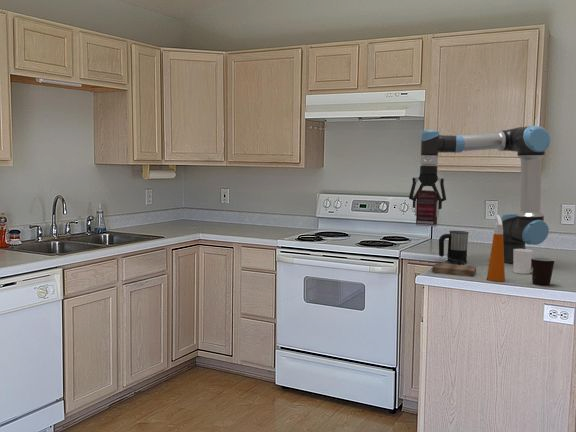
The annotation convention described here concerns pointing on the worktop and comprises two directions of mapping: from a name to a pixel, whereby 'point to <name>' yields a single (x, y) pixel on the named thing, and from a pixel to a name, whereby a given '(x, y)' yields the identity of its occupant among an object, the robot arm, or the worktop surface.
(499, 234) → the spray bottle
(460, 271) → the walnut board
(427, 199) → the supplement box
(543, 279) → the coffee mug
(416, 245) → the worktop surface
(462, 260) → the black pitcher
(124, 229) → the worktop surface
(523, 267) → the white cup
